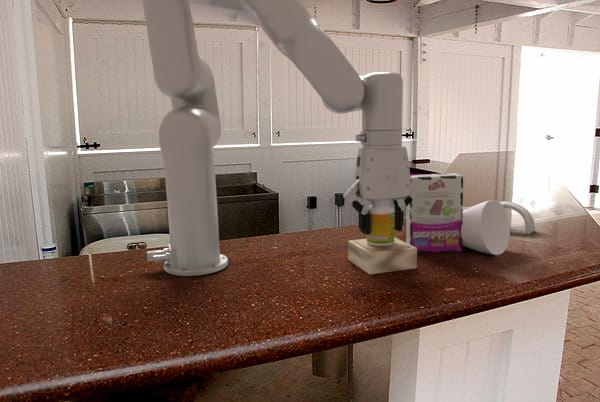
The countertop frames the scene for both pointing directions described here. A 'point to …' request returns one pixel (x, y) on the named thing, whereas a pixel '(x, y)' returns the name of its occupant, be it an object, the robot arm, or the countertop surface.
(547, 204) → the countertop surface
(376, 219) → the supplement bottle
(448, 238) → the candy bar box
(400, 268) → the plinth
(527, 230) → the spoon rest
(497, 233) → the rocket engine
